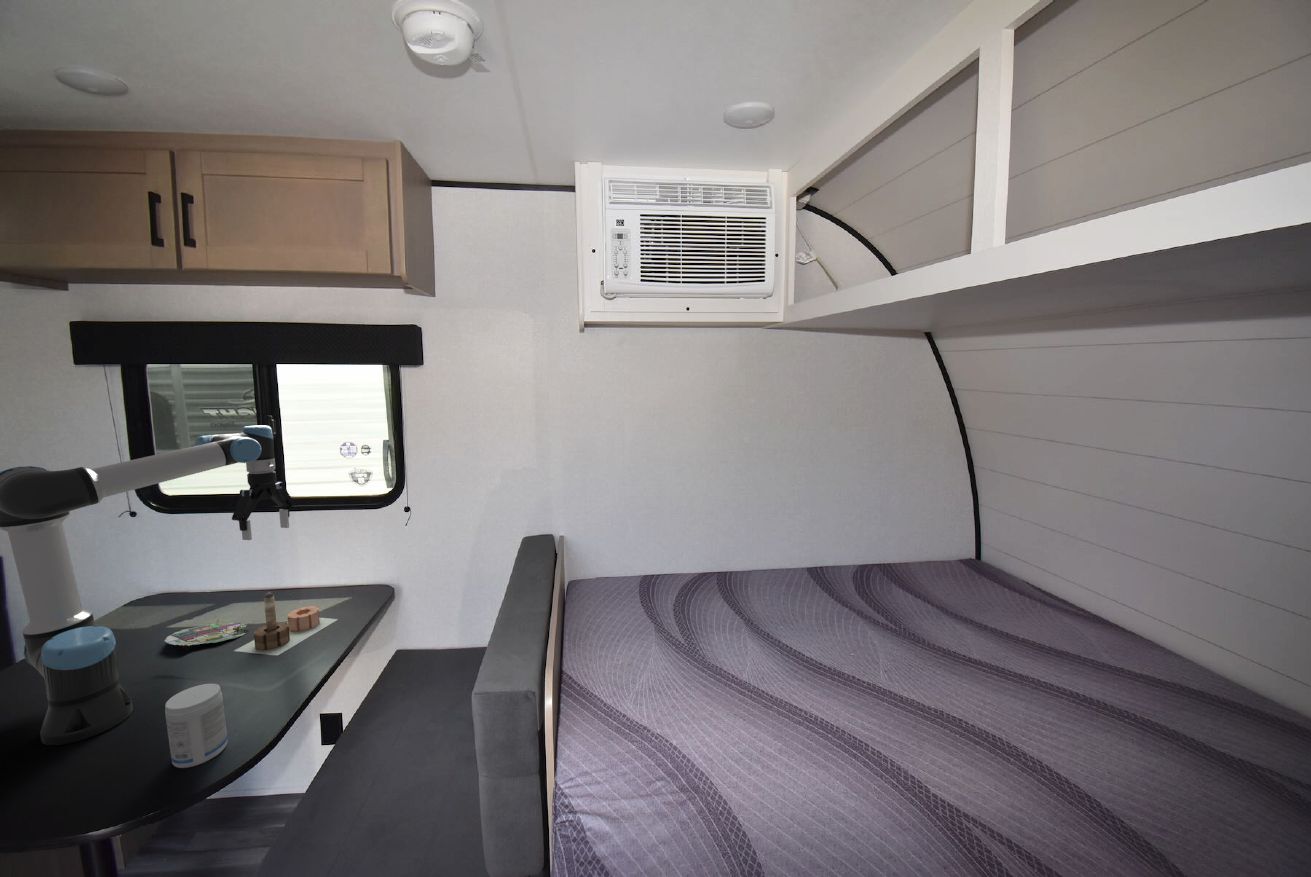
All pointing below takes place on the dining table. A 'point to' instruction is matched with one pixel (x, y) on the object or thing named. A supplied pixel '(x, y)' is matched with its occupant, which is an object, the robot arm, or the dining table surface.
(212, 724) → the supplement tub
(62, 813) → the dining table surface
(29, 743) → the dining table surface
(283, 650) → the board
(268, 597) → the wooden dowel rod
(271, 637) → the walnut bead
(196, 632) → the city model
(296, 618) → the terracotta bead
